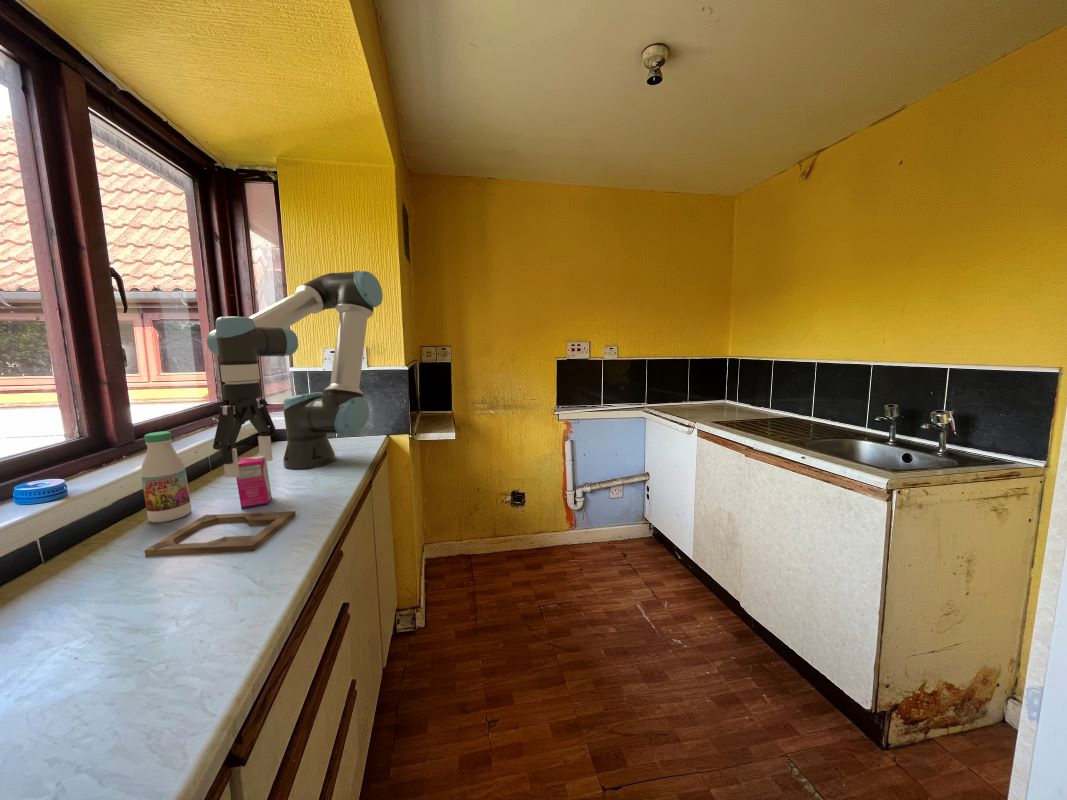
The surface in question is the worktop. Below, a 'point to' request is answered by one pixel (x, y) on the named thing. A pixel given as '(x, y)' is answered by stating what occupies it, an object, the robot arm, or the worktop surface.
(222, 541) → the keyhole plate
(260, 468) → the supplement box
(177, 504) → the milk bottle
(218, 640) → the worktop surface
